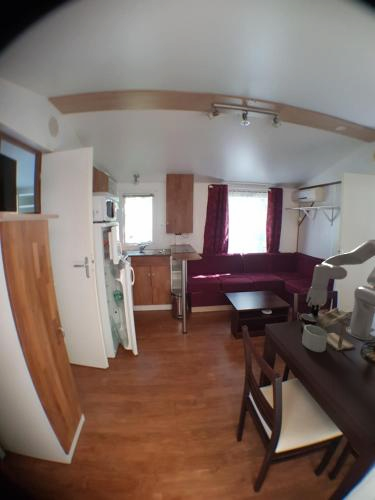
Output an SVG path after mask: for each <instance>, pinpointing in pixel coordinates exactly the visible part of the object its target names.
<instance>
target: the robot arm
mask: <svg viewBox="0 0 375 500" xmlns="http://www.w3.org/2000/svg"><path fill="white" fill-rule="evenodd" d="M373 257H375V239H368V240H366V241H364V242H363V243H361V244H360V245H358V246H356V247H355V248H353V249H352V250H350V251H349V252H345V253H342V254H341V253H340V254H336V255H334V256H331V257H329V258H327V259H326V260H324V261H323V262H321V263H320V264H316V265H314V269H313V275H312V282H311V286H310V287H309V289H308V292H307V295H306V303H307V306H308V307H310V308H311V310H310V313H311V314H313V315H314V316H318V312H319V313H320V309H321V307H322V306H324V305H325V304H326V303H327V300H328V299H327V298H328V286H329V282H330V279H332V280H344V279H345V278H347V276H348V272H347V269H346V268H344V267H342V266H351V265H352V266H353V265H361V264H364V263H366V262H367V261H369V260H370V259H372V258H373ZM366 282H367V283H368V285H370V286H372V287H370V286H367V285H358V286H357V287H356V288H355V290H354V293H353V295H354V296H353V297H354V303H353V304H354V305H353V309H352V312H351V321H350V324H349V326H348V327H347V326H346V328H345V331H346V333H347V334H348V335H349V336H351V337H354V338H355V339H358V340H362V341H369V342H370V341H372V340H373V338H374V336H373V335H372V334H371V333H372V332H373V333H374V332H375V329H374V328H373V327H372V326H373V321H374V317H375V288H373V287H375V267H374V268H373V269H372V270H371V272H370V273H369V275H368V277H367V278H366Z"/></svg>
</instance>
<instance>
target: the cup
mask: <svg viewBox="0 0 375 500" xmlns="http://www.w3.org/2000/svg"><path fill="white" fill-rule="evenodd" d="M321 327H322V326H321ZM321 327H320V326H317V325H316V326H314V325H304V331H303V332H302V337H301V338H302V340H301V344H302V345H303V346H304V347H305V348H306V349H308V350H309V351H312V352H314V353H323V352H324V351H325V352H326V348H327V344H328V343H327V338H328V331H327V330H324V329H322V328H321Z"/></svg>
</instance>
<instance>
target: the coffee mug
mask: <svg viewBox="0 0 375 500" xmlns="http://www.w3.org/2000/svg"><path fill="white" fill-rule="evenodd" d="M300 316H301V317H300ZM297 318H298V319H299V322H300V328H301V329H300V331H301V333H303V331H304V325H314V326H317V322H318V321H315V320H314V319H312V318H310V317H309V316H308V313H298V315H297Z"/></svg>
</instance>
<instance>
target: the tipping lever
mask: <svg viewBox="0 0 375 500" xmlns="http://www.w3.org/2000/svg"><path fill="white" fill-rule="evenodd" d="M326 312H327V313H325V314H324V313H320V311H319V312H318V316H314V315H313V314H311V312H310V313H309V314H308V313H307V314H308V316H309V317H310V318H312V319H314V320H315V321H317V322H319V323H320V324H321V325H322V324H323V325H325V327H327V328H329V327H330V326H333V325H335V324H337V323H338V322H339V323H341V324H342V322H346V323H348V322H351V318H352V315H351V314H350V312H346V311H344V310H342V309H341V310H339V307H334V308H333V309H331V310H329V311H326Z"/></svg>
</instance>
